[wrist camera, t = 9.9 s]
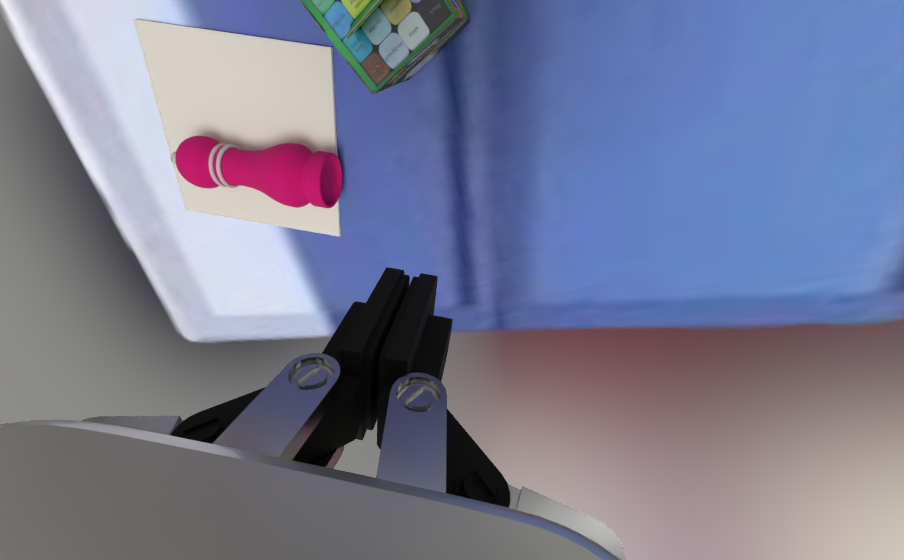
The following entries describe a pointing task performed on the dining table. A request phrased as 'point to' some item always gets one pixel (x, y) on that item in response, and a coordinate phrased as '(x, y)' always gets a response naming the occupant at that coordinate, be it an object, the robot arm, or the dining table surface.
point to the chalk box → (388, 34)
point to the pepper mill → (263, 170)
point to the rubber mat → (243, 109)
